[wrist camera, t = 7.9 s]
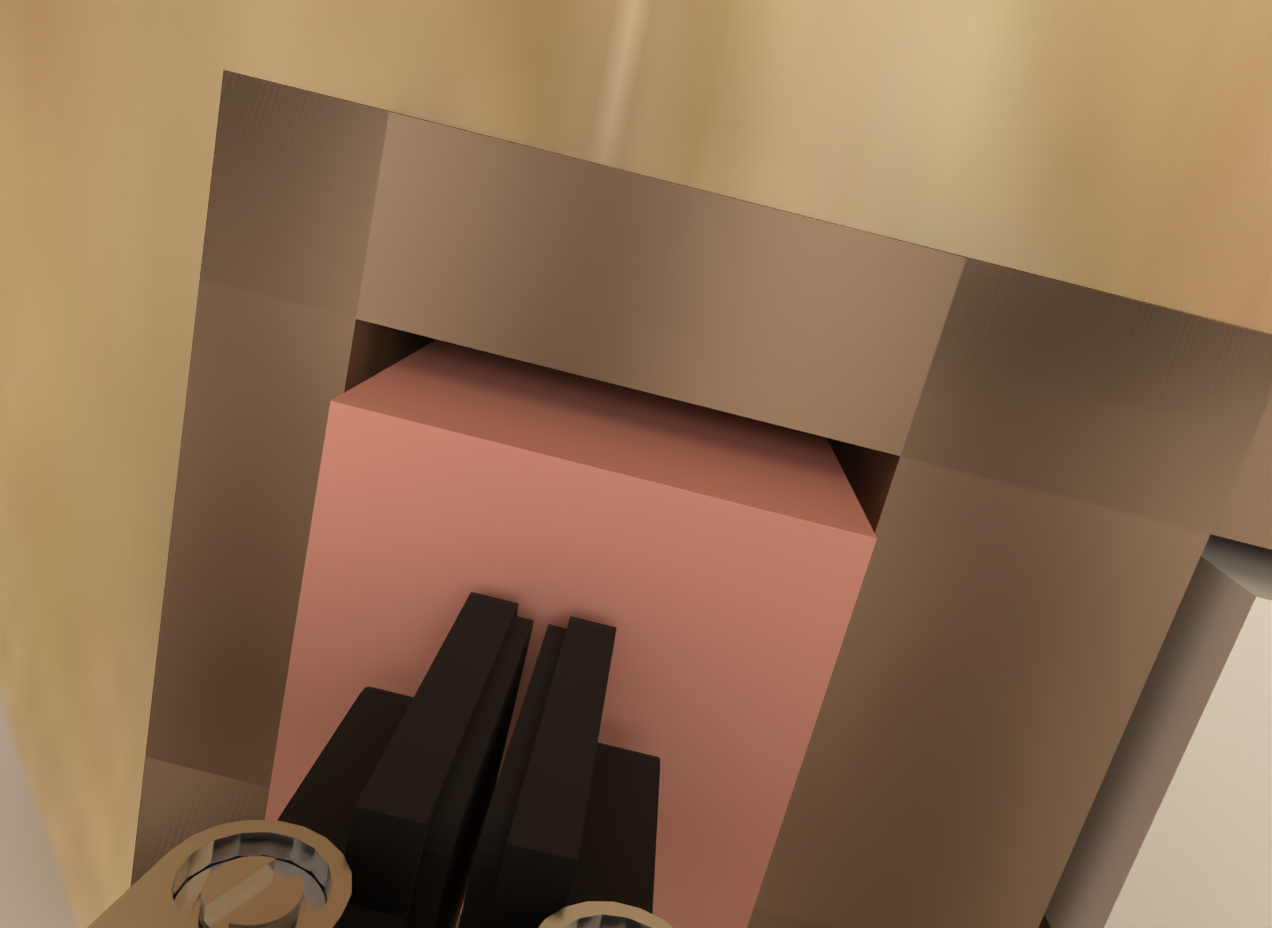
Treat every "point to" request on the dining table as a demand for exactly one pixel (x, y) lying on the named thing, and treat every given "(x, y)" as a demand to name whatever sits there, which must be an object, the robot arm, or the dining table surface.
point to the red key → (589, 582)
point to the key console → (746, 386)
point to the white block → (1189, 771)
